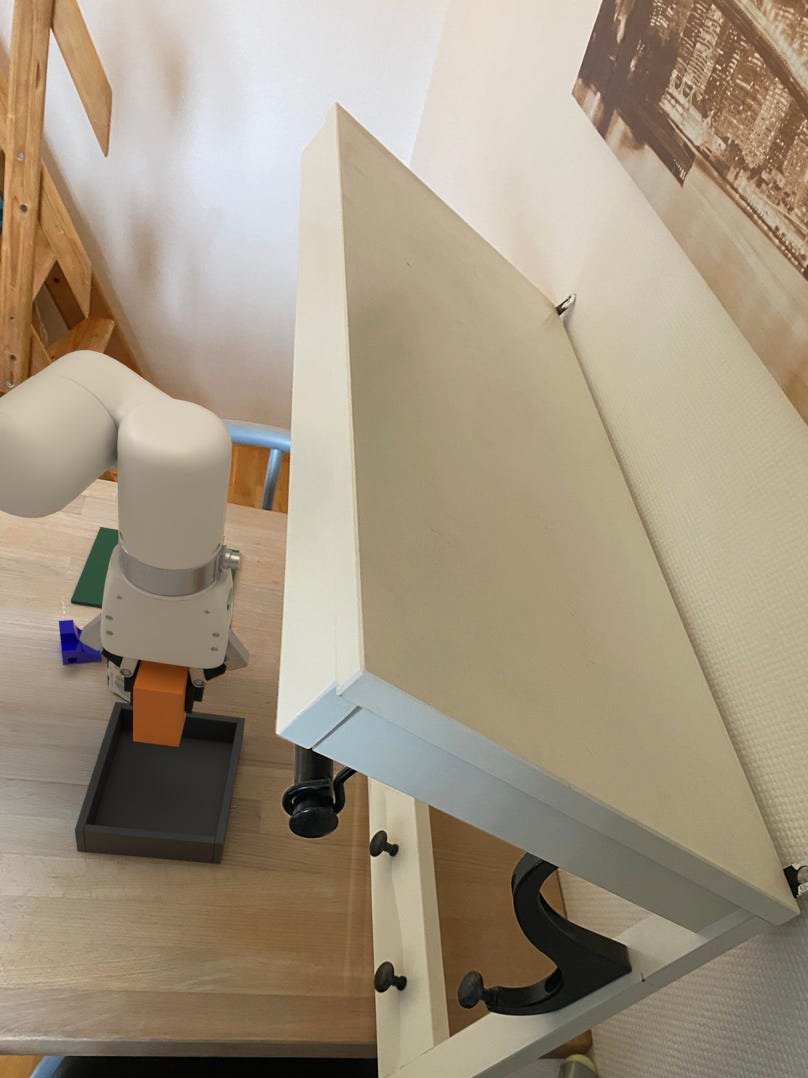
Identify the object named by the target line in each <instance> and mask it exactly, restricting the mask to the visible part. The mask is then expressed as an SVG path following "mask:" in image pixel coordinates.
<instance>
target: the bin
mask: <svg viewBox="0 0 808 1078" xmlns="http://www.w3.org/2000/svg"><path fill="white" fill-rule="evenodd" d="M245 724H246V718H245V717H240V716H239V717H238V716H231V715H223V714H217V713H206V712H200V711H194V710H192V714H188V713H187V714H186V718H185V722H184V726H183V731H182V735H181V739H180V743H179V746H178V747H176V746H168V745H160V744H152V743H144V742H136V741H133V706H130V703H129V702H120V701H115V702H114V704H113V707H112V710H111V713H110V717H109V719H108V722H107V726H106V730H105V733H104V736H103V739H102V743H101V745H100V749H99V751H98V755H97V758H96V761H95V764H94V768H93V770H92V774H91V778H90V780H89V783H88V787H87V789H86V793H85V795H84V798H83V799H84V800H83V801H82V802H83V803H82V805H81V809H80V812H79V815H78V818H77V821H76V825H75V828H74V837H75V844H76V851H77V852H80V853H89V854H100V855H113V856H122V857H123V856H125V857H137V858H147V859H158V860H169V861H182V862H192V863H193V862H194V863H205V864H215V865H221V863H222V859H223V855H224V854H223V853H224V847H225V842H226V837H227V836H226V835H227V830H228V824H229V818H230V814H231V808H232V802H233V797H234V791H235V785H236V778H237V773H238V768H239V763H240V756H241V752H242V746H243V740H244V733H245Z"/></svg>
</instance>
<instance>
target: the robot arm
mask: <svg viewBox="0 0 808 1078" xmlns="http://www.w3.org/2000/svg"><path fill="white" fill-rule="evenodd" d="M232 459H233V441H232V437H231V434H230V432H229V429H228V428H227V426H226V424H225V423H224V422H223V420H222V419H221V418H220V417H219V416H218V415H217V414H215V413H214V412H212V411H211V410H209V409H207V408H206V407H203V406H202V405H199V404H196V403H194V402H191V401H187V400H182V399H175V398H173V397H172V396H170V395H169V394H167V393H166V392H164V391H162V390H161V389H159V388H158V387H156V386H155V385H154V384H152V383H151V382H150V381H147V380H146V379H145V378H143V377H142V376H140V375H139V374H138V373H137V372H135V371H134V370H132V369H131V368H129V367H128V366H127V365H125V364H124V363H122V362H120V361H119V360H117V359H115V358H113V357H111V356H109V355H107V354H104V353H102V352H99V351H95V350H90V349H89V350H88V349H81V350H75V351H72V352H69V353H67V354H65V355H63V356H61V357H59V358H58V359H56V360H54V361H53V362H52V363H50V364H49V365H48V366H46V367H44V368H43V369H42V370H40V371H39V372H38V373H36V374H34V375H32V376H29V377H28V378H27V379H26V380H24V381H22V382H21V383H20V384H18V385H17V386H15V387H14V388H12V389H11V390H10V391H8V392H6V393H5V394H3V395H2V396H1V397H0V511H1V512H3V513H6V514H9V515H11V516H16V517H19V518H24V519H40V518H45V517H48V516H51V515H53V514H56V513H58V512H60V511H62V510H63V509H64V508H66V507H67V506H68V505H70V504H71V503H72V502H73V501H74V500H76V499H77V498H78V497H79V496H80V495H81V494H83V492H85V491H86V490H87V489H88V488H90V486H91V485H93V483H94V482H96V481H97V480H98V479H99V478H100V477H101V476H102V475H103V474H105V472H107V471H110V470H117V524H118V525H117V527H118V528H117V530H118V533H119V536H118V537H119V543H118V544H117V545H116V546H115V548H114V549H113V552H112V555H111V558H110V562H109V567H108V571H107V576H106V581H105V587H104V595H103V604H102V608H101V612H100V613H99V614H98V615H96V616H95V617H94V618H93V619H92V620H90V621H89V622H88V623H87V624H86V625H84V626H83V628H82V629H81V630H82V633H81V635H80V638H79V639H80V641H81V642H82V643H84V644H86V645H88V646H89V647H91V648H93V649H95V650H97V651H101V656H102V657H104V658H105V659H106V660H107V659H108V660H109V661H111V662H112V663H113V664H115V665H116V666H117V667H119V668H120V669H119V674H120V675H122V676H124V691H125V692H130V706H133V687H134V684H135V680H136V677H137V674H138V670H139V667H140V664H141V660H145V661H152V662H158V663H165V664H172V665H179V666H186V667H188V669H189V677H188V681H187V685H186V692H185V706H184V712H186V713H188V714H192V711H194V710H193V709H194V705H195V702H198V703H202V702H203V699H204V694H205V693H204V692H205V687H206V685H207V682H208V681H211V680H213V679H216V678H217V677H220V676H222V675H224V674H225V673H226V671H230V672H231V671H235V670H239V669H243V668H246V667H247V666H248V664H249V659H250V652H249V650H248V649H247V648H246V647H245V645H244V644H243V643H242V641H241V640H240V639H239V637H238V636H237V634H235V632H234V631H233V629H232V626H233V617H234V616H233V615H234V584H233V583H234V581H233V582H232V574H231V569H236V570H237V571H239V569H240V565H241V559H242V558H241V557H242V553H240V552H239V553H235V552H232V550H228V549H229V548H228V545H225V537H226V536H225V528H226V519H227V518H226V517H227V508H228V497H229V487H230V478H231V469H232ZM236 570H235V571H236Z"/></svg>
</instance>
